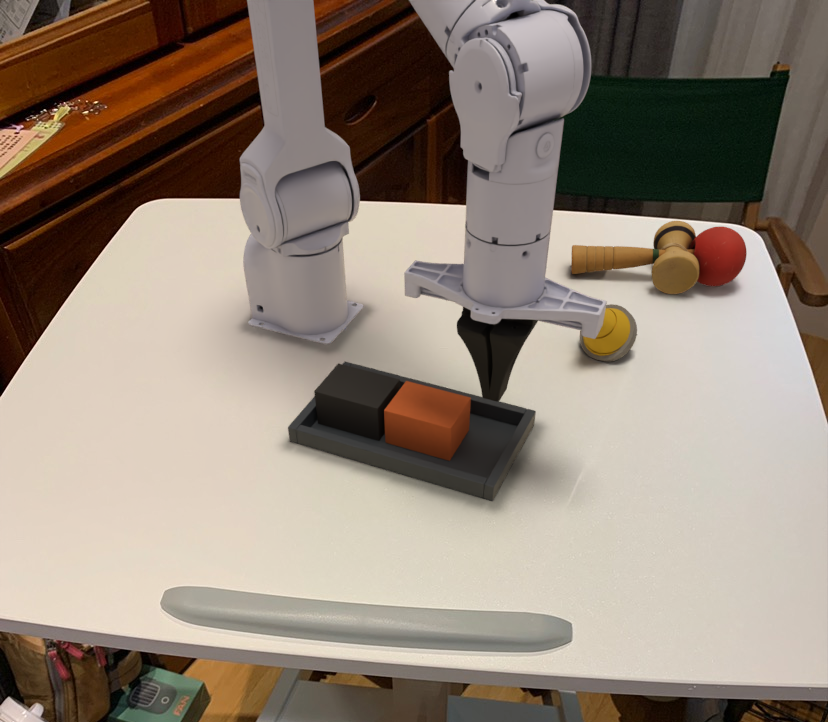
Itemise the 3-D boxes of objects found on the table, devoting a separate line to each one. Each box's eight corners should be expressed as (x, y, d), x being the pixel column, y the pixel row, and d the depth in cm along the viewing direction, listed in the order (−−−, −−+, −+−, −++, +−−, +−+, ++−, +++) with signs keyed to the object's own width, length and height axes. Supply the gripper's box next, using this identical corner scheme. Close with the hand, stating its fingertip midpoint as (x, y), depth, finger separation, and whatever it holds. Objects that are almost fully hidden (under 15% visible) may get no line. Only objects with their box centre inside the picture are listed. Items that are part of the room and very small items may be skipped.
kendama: (570, 304, 89) (747, 296, 85) (570, 244, 85) (756, 233, 81) (572, 281, 95) (737, 272, 91) (572, 224, 91) (744, 212, 87)
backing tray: (290, 445, 71) (287, 427, 70) (346, 378, 78) (344, 360, 76) (492, 505, 66) (493, 487, 64) (533, 428, 72) (536, 410, 71)
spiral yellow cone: (646, 366, 80) (612, 333, 71) (593, 374, 82) (554, 344, 74) (645, 312, 80) (611, 273, 72) (593, 323, 83) (554, 287, 75)
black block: (317, 423, 72) (313, 391, 70) (341, 395, 75) (338, 362, 72) (379, 441, 71) (377, 408, 68) (400, 411, 73) (400, 378, 71)
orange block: (385, 442, 70) (383, 410, 68) (406, 413, 73) (406, 380, 71) (449, 461, 69) (450, 428, 66) (469, 430, 72) (471, 397, 69)
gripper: (384, 231, 54) (389, 398, 64) (598, 275, 50) (568, 446, 60) (426, 188, 59) (425, 351, 69) (626, 225, 55) (594, 393, 65)
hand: (494, 392), depth 65 cm, fingers closed
